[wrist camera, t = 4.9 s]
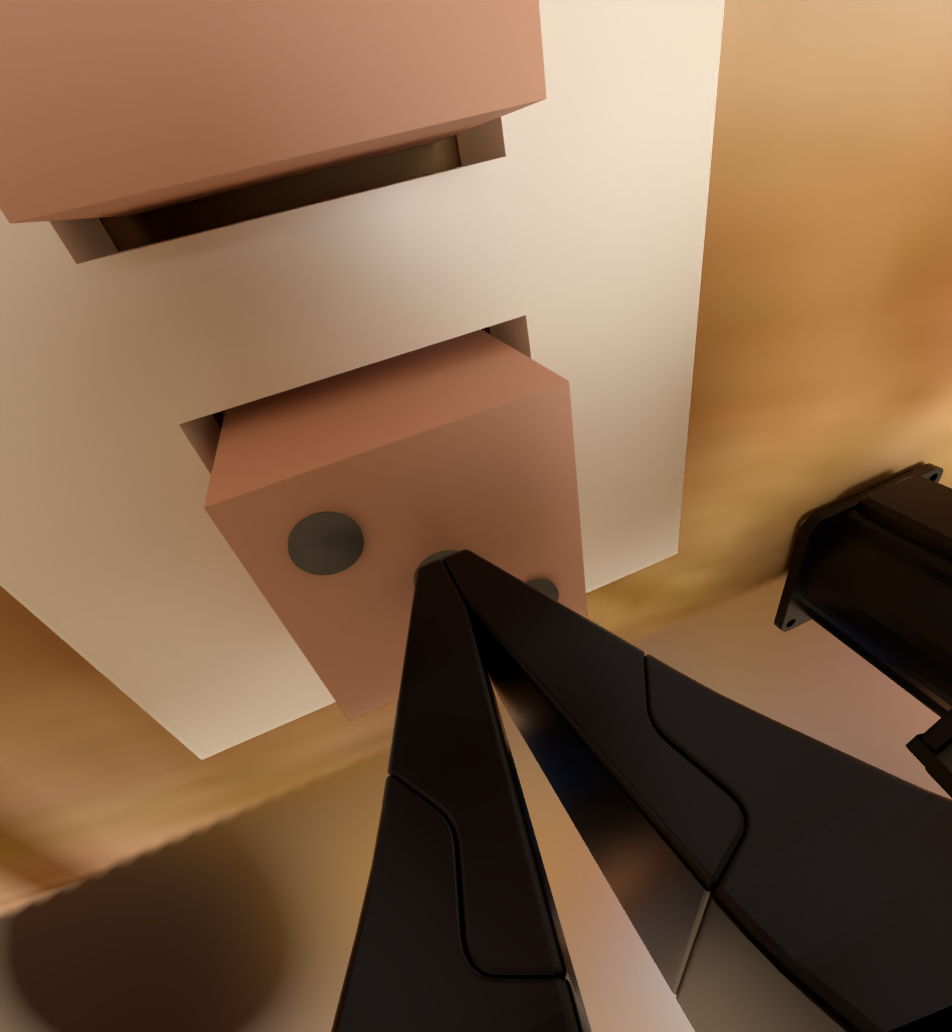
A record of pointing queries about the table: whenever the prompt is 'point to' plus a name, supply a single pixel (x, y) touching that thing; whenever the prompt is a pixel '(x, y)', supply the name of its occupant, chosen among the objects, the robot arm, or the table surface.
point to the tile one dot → (239, 92)
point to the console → (355, 356)
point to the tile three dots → (398, 497)
